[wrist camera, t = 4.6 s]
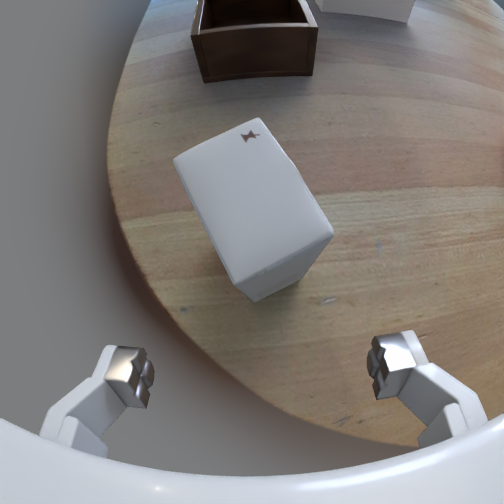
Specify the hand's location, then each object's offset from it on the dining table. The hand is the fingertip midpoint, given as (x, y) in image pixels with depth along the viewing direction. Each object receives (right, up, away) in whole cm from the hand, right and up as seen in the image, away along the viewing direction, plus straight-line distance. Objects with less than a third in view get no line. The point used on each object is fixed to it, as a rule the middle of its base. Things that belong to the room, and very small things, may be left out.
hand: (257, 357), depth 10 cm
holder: (0, +28, +19) cm, 34 cm away
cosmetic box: (0, +3, +13) cm, 13 cm away
